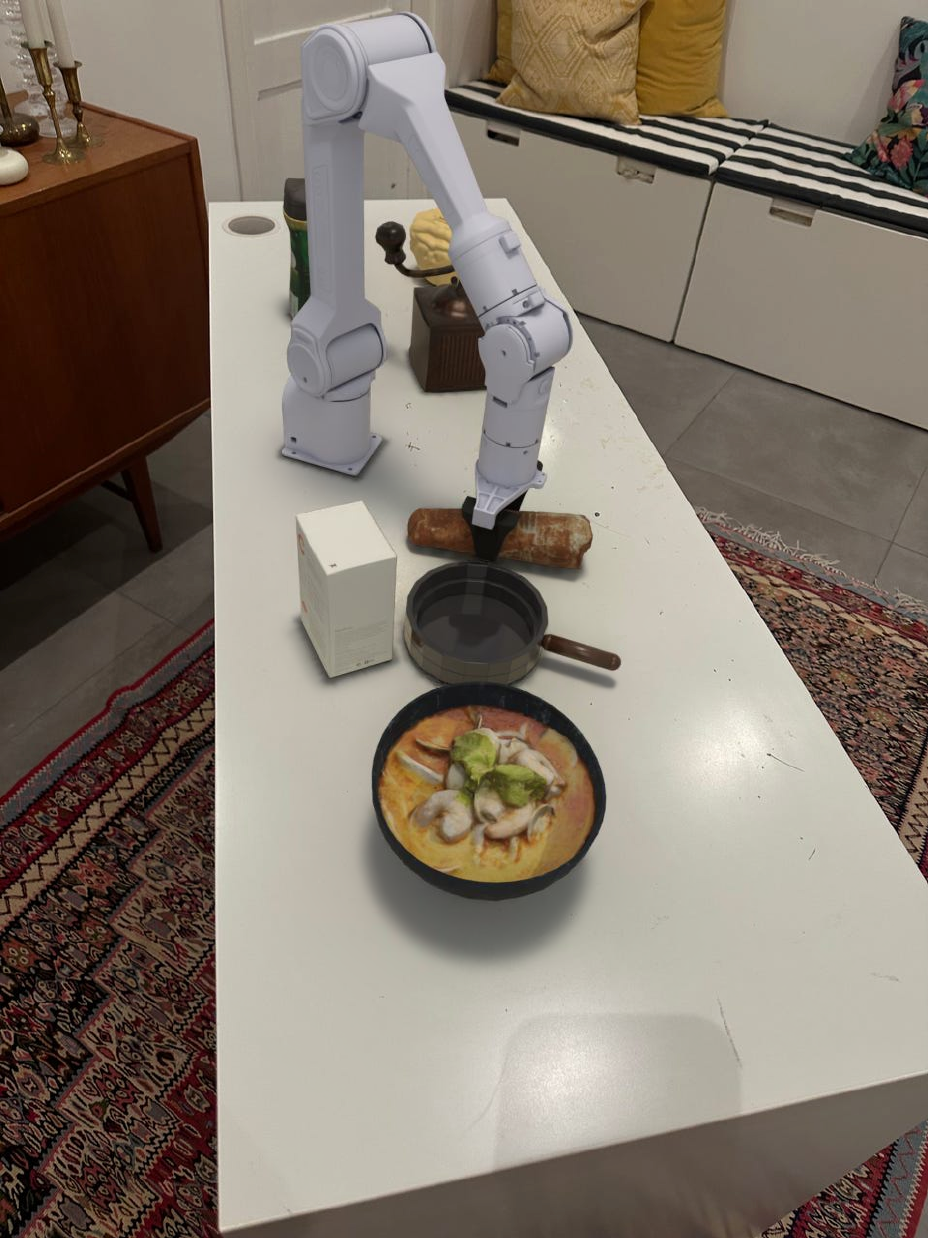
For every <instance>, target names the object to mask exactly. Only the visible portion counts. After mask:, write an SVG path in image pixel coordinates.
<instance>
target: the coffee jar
mask: <svg viewBox="0 0 928 1238" xmlns="http://www.w3.org/2000/svg"><path fill="white" fill-rule="evenodd" d="M282 214H283V218H284V221H285V224H286V226H287V229H288V232H289V244H290V245H289V246H290V263H289V264H290V268H289V269H290V270H289V288H288V290H289V291H288V293H289V294H288V301H289V303H288V304H289V312H290V316H291V318H292V320H293V319H294V317H295V316H296V315H297V313H298V312H299V311H300V310H301V308H302V307H303V306H304V304H305V303H306V302H307V301H308V299H309V298H310V296H311V288H310V269H309V249H308V230H307V211H306V191H305V177H299V178H297V177H287V178H286V179H285V181H284V188H283V205H282Z"/></svg>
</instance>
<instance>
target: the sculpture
mask: <svg viewBox="0 0 928 1238" xmlns="http://www.w3.org/2000/svg"><path fill="white" fill-rule="evenodd" d="M412 220H413V221H412V223H411V224H410V225H409V238H410V240H409V250H410V252H411V253H412V254H413V256H414V259H415V262H416V264H417V266H418V270H427V269H435V268H441V267H445V266H448V265H452V263H451V261H450V259H449V257H448V250H449V245H450V241H451V236H452V231H451V229H450V227H449V225H448V224H447V222H446V220H445V218H444V217H443V215H442V213H441V211H440V210H439V208H438V206H437V207H435V208H430V209H427V210H424V211H419V212H418V213H416V215H415V216H414V218H413V219H412ZM453 276H456V277H457V278H458V281H459V277H458V275H457V273H456V271H455V272H452V273H449V274H444V275H438V276H431V277H424V279H425V280H427V281H428V282H429V283H431V284H433V285H434V286H435V287H436V286H439V285H442V284H449V283H451V278H452V277H453Z"/></svg>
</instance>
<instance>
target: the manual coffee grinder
mask: <svg viewBox="0 0 928 1238" xmlns="http://www.w3.org/2000/svg"><path fill="white" fill-rule="evenodd" d="M374 238H375V242H376V244H377V245H379V247H381V248H382V249H383V251H384V252H385V253H384V255H385V257H384V263H386V264H387V265H391V266H394V268H395V269H396V270H397V271H398V273H400V274H401V275H403V276H405V277H409V278H413V279H414V278H415V279H416V278H417V279H418V278H425V277H431V276H438V275H444V274H449V273H452V272H455V269H454V267H453V265H448V266H445V267H441V268H435V269H427V270H420V269H418V270H417V269H410V268H407V267H406V265H404V264H403V263H404V262H405V261H406V260H407V254H406V253H405V250H404V249H403V248H404V244H405V242H406V240H407V232H406V228H405V227H404V225H403V224H401V223H399V222H396V221H394V220H391V221H390V220H388V221H386V222H384V223H382V224H380V225H379V226H378V227H377V228H376V232H375V236H374ZM412 292H413V294H412V310H411V311H412V312H411V331H410V341H409V342H410V343H409V348H408V352H409V357H410V363H411V365H412V367H413V370H414V373H415V376H416V378H417V381H418V382H419V384H420V385H421V387H422V389H423V390H424V391H425V392H427V393H452V392H453V393H454V392H470V391H480V390H487V386H486V385H485V378H486V371H485V367H484V365H483V362H482V360H481V357H480V353H479V346H478V341H479V338H482V337H483V336H485V331H484V329H483V327H482V325H481V323H480V321H479V319H478V318H479V317H477V315H476V313H475V311H474V308H473V306H472V304H471V302H470V300H469V298H468V296H467V294H466V292H465V290H464V288H463V286H462V284H461V282H460V280H459V281H458V278H457V277H456V276H453V277H452V278H451V283H449V284H442V285H439V286H436V285H435V286H418V287H417V286H414V287H413V291H412Z"/></svg>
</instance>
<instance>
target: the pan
mask: <svg viewBox="0 0 928 1238" xmlns="http://www.w3.org/2000/svg"><path fill="white" fill-rule="evenodd" d="M546 603H547V602H545V600H544V598H543V596H542V594H541V591H539V590H538V588H536V587H535V585H533V584H532V582H531V581H530V580H528V579H527V578H526V577H525V576H523V575H521V574H519V573H518V572H516V571H514V570H513V569H511V568H508V567H507V566H506V567H505V566H502V565H499V564H496V563H492V562H488V561H479V560H478V561H477V560H461V561H455V562H453V561H452V562H446V563H444V564H442V565H439V566H437V567H434V568H432V569H430V570H427V572H425V573H424V574H423V575H422V576H421V577H419V578H418V579H416V580H415V581H414V584H413V585H412V587H411V589H410V590H409V592H408V595H407V597H406V605H405V617H404V618H405V620H404V633H403V637H404V641H405V644H406V647H407V650H408V653H409V654H410V656H411V657H412V658H413V659H414V661H415V662H416V663H417V664H418V666H419V667H420V668H421V669H422V670H424V671H425V672H426V673H428V674H429V675H431V676H432V677H434V678H436V679H438V680H439V681H441V682H443V683H447V684H449V685H451V684H455V683H462V682H471V681H484V682H494V683H501V684H505V685H509V684H511V683H513V682H515V681H517V680H519V679H521V678H523V677H525V676H526V675H527V674H528V673H529V672H530V671H531V669H533V668H534V667H535V665H536V664H537V663H538V661H539V659H540V656H541V653H542V650H543V647H542V642H543V639H544V636H545V635H546V634H547V631H548V628H549V627H548V626H549V612H548V605H547V604H546Z"/></svg>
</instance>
